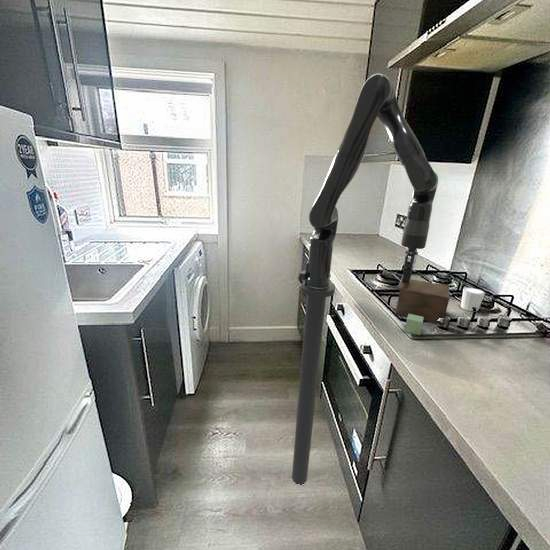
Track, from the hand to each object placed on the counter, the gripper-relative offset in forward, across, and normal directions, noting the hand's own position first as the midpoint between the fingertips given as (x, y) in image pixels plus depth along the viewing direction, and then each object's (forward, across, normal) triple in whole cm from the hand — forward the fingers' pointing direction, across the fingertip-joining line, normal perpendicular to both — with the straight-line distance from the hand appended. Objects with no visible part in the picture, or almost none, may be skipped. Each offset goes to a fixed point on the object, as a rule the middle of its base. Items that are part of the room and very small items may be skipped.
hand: (406, 280), depth 106 cm
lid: (+2, 0, +6) cm, 6 cm away
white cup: (+11, -15, +22) cm, 29 cm away
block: (+11, +16, +5) cm, 20 cm away
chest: (+11, 0, +6) cm, 12 cm away
